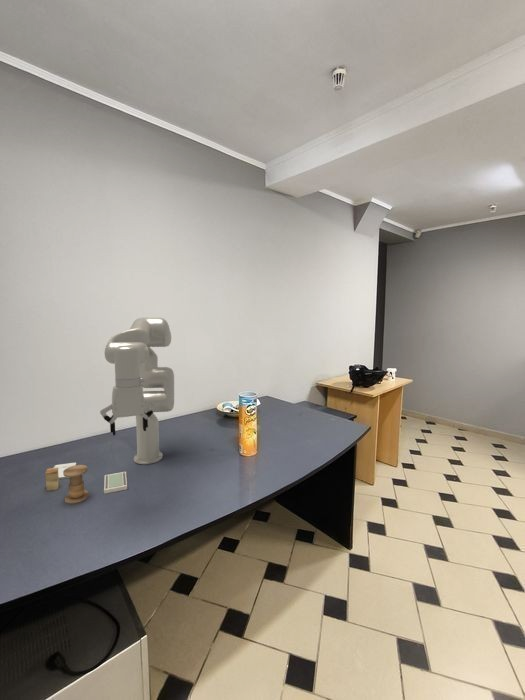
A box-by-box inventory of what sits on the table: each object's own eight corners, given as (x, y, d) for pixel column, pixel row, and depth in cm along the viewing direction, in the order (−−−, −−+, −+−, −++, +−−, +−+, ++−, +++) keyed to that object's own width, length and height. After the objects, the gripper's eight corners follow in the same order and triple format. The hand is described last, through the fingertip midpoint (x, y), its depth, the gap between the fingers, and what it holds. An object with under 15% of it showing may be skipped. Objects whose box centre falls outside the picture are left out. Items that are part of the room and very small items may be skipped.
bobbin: (66, 494, 124) (64, 466, 122) (89, 490, 127) (88, 463, 125) (63, 505, 117) (61, 476, 115) (88, 500, 120) (86, 472, 119)
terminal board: (104, 478, 135) (104, 474, 135) (126, 474, 139) (125, 471, 138) (104, 493, 125) (104, 489, 124) (127, 489, 128) (127, 485, 128)
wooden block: (48, 486, 129) (46, 468, 128) (59, 484, 130) (58, 467, 130) (46, 491, 126) (45, 473, 125) (57, 489, 127) (56, 471, 126)
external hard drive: (48, 482, 133) (55, 468, 144) (71, 479, 135) (76, 465, 147) (47, 479, 132) (54, 464, 144) (71, 475, 135) (76, 462, 147)
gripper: (153, 378, 118) (154, 424, 120) (98, 382, 110) (101, 431, 113) (156, 382, 111) (157, 431, 113) (98, 387, 104) (101, 440, 106)
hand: (129, 431), depth 113 cm, fingers open, 9 cm apart
